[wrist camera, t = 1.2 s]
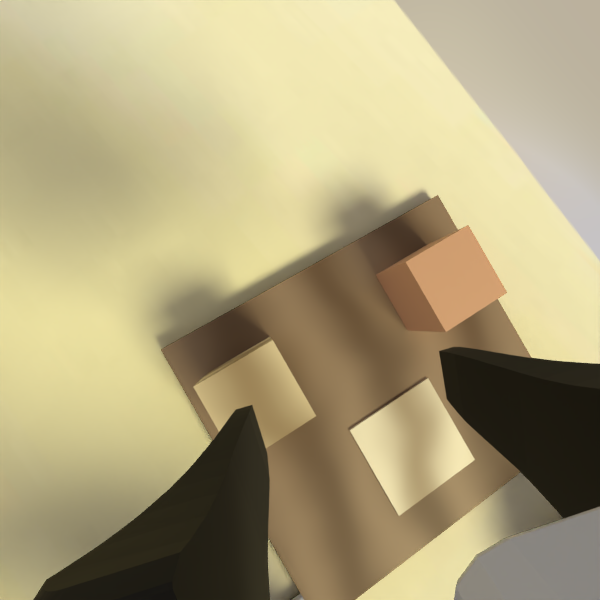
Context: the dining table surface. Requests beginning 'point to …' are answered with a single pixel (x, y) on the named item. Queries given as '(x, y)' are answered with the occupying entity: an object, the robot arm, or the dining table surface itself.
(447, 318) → the terracotta block
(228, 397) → the birch block
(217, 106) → the dining table surface
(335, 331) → the brown wooden board
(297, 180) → the dining table surface
